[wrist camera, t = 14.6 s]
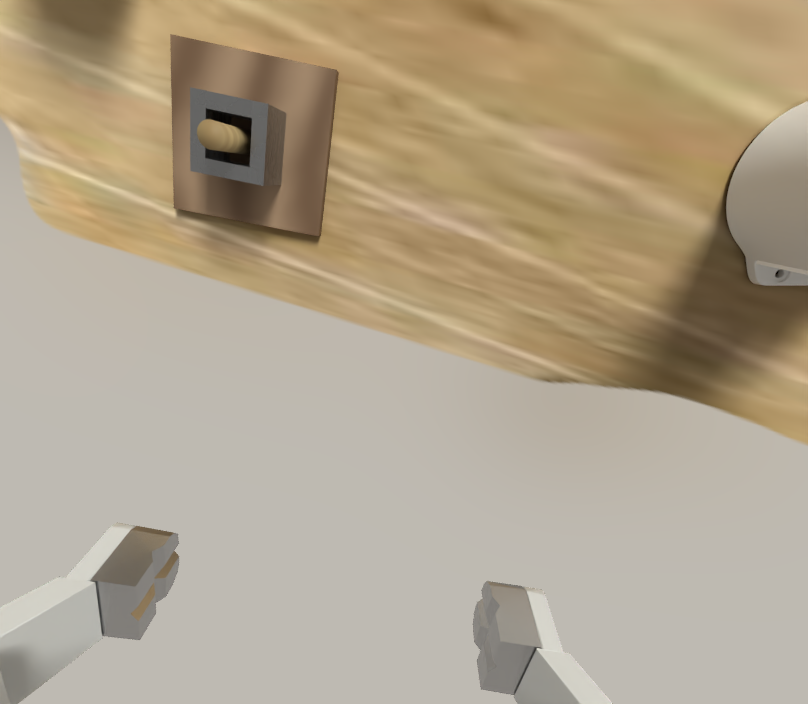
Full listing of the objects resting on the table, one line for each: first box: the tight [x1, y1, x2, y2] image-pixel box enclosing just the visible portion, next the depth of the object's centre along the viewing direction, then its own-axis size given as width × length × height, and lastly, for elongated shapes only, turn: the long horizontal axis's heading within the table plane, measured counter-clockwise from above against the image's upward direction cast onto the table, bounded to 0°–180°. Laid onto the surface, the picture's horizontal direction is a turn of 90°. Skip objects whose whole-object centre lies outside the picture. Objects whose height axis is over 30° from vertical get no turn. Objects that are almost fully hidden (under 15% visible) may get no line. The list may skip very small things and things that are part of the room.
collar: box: [190, 87, 287, 186], centre depth 36 cm, size 6×6×5 cm
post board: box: [170, 34, 338, 236], centre depth 35 cm, size 14×14×9 cm
